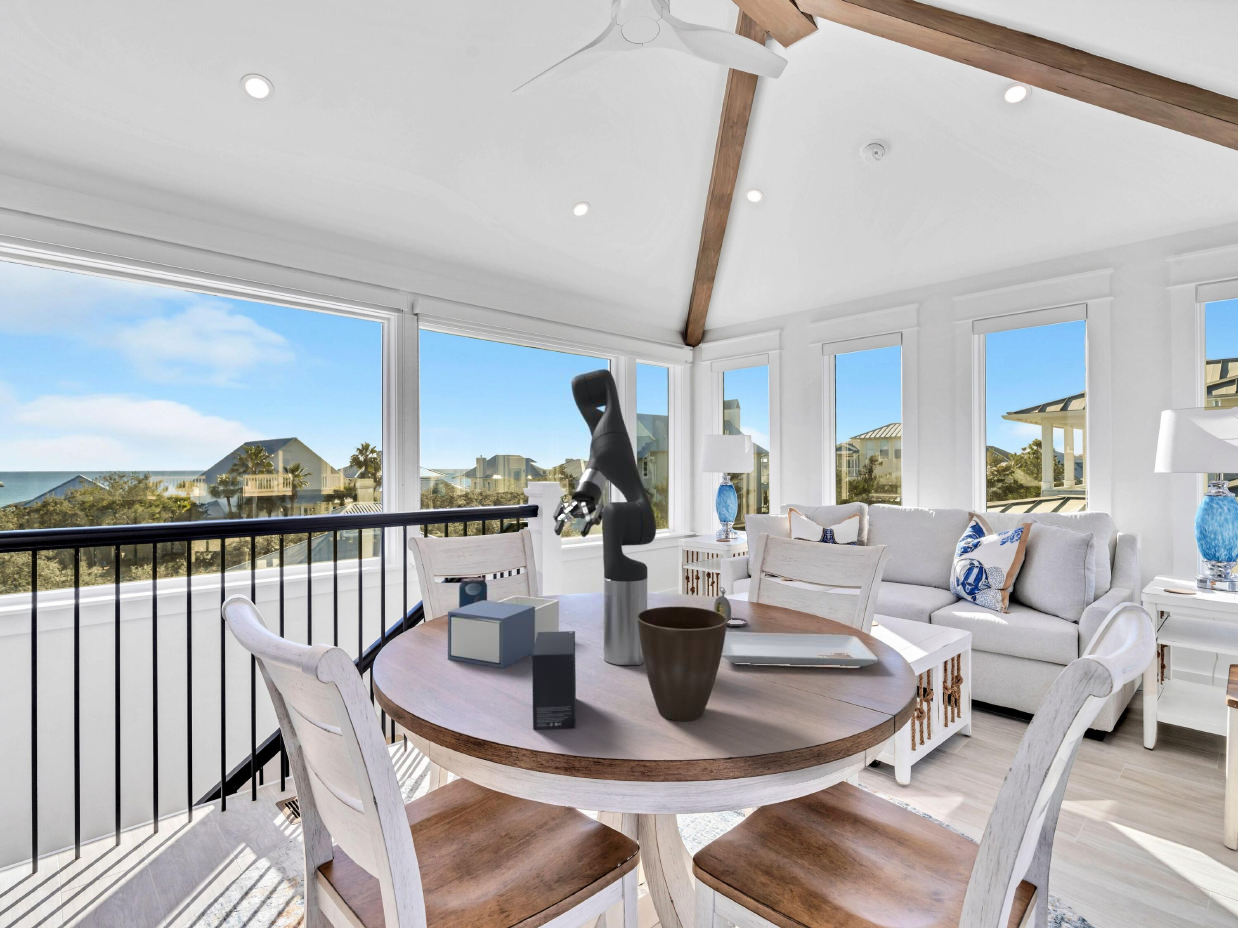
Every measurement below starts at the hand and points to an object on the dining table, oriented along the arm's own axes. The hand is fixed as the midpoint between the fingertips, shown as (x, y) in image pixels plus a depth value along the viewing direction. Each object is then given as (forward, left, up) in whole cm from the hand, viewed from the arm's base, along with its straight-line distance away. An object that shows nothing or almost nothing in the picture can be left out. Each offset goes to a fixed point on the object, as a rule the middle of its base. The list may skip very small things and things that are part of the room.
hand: (569, 534), depth 165 cm
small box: (-28, +55, -23) cm, 66 cm away
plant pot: (-47, +46, -23) cm, 70 cm away
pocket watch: (-40, -13, -23) cm, 48 cm away
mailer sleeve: (0, +34, -23) cm, 41 cm away
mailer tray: (0, +28, -22) cm, 36 cm away
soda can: (+19, +16, -23) cm, 34 cm away
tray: (-59, +9, -23) cm, 64 cm away
